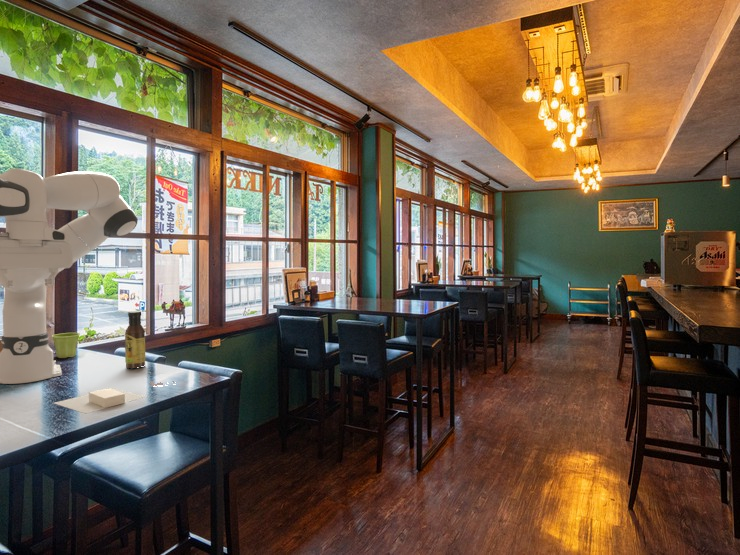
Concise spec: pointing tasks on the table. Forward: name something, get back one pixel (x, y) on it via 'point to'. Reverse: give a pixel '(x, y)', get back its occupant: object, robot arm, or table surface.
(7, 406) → the table surface
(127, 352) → the sauce bottle
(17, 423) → the table surface
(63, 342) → the plant pot
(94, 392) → the card deck
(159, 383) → the mobile phone
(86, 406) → the bar mat
